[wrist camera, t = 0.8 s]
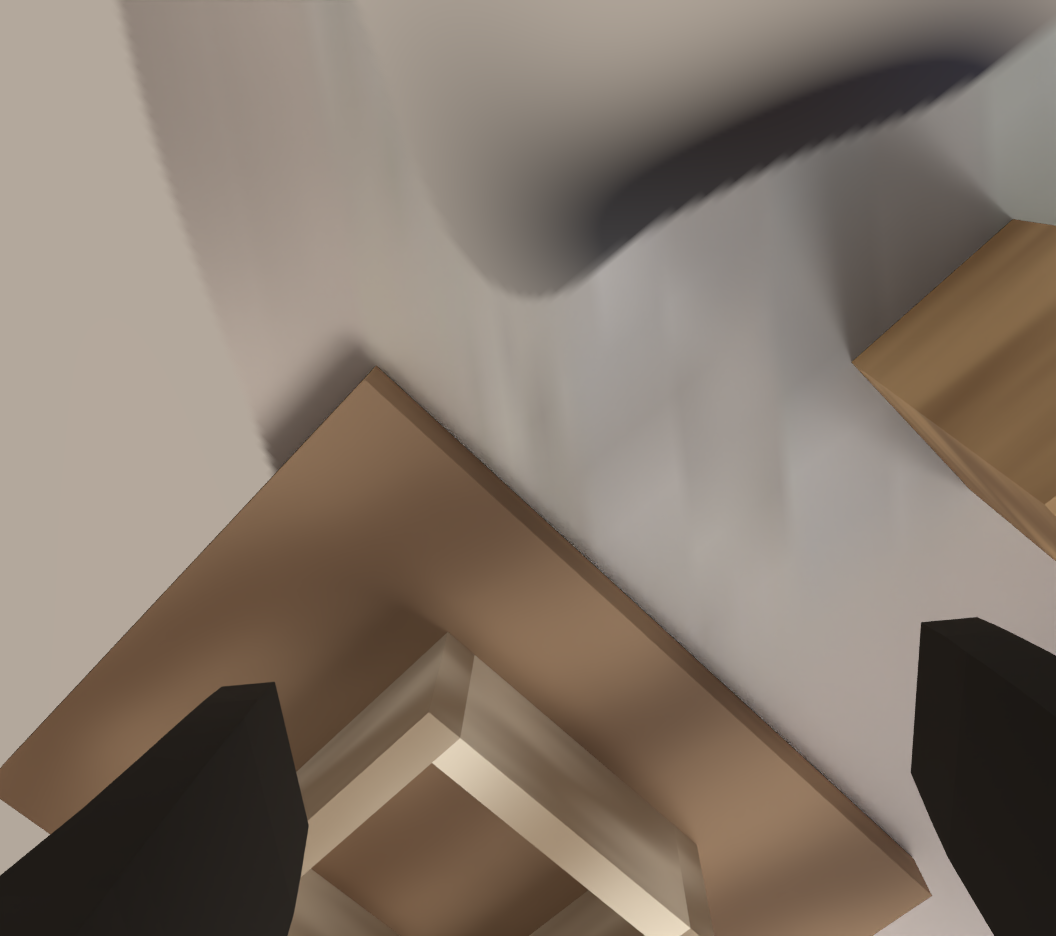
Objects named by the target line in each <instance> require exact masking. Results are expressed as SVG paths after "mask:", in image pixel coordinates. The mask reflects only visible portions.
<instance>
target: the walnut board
mask: <svg viewBox="0 0 1056 936" xmlns="http://www.w3.org/2000/svg"><path fill="white" fill-rule="evenodd" d="M266 682H275V684H276V688H277V693H278V697H279V701H280V705H281V710H282V714H283V718H284V722H285V727H286V731H287V735H288V739H289V744H290V748H291V752H292V756H293V761H294V765H295V769H296V773H297V778H298V782H299V786H300V790H301V795H302V799H303V803H304V807H305V812H306V816H307V820H308V824H309V828H308V835H307V841H306V847H305V853H304V860H303V866H302V872H301V878H300V883H299V889H298V894H297V900H296V905H295V911H294V915H293V919H292V922H291V926H290V929H289V933H288V936H873V935H874V934H876V933H877V932H879V931H880V930H882V929H883V928H885V927H886V926H888V925H889V924H890V923H892V922H893V921H895V920H896V919H898V918H899V917H901V916H902V915H904V914H905V913H907V912H908V911H910V910H911V909H913V908H914V907H916V906H917V905H919V904H920V903H922V902H923V901H925V900H926V899H928V898H929V897H931V896H932V895H931V893H930V891H929V889H928V887H927V885H926V883H925V881H924V879H923V877H922V875H921V873H920V871H919V869H918V867H917V865H916V863H915V861H914V859H913V858H912V857H911V856H910V855H909V854H908V853H907V852H906V851H905V850H904V849H902V848H901V847H900V846H899V845H898V844H897V843H896V842H895V841H894V840H893V839H892V838H890V837H889V836H888V835H887V834H886V833H885V832H884V831H883V830H882V829H881V828H880V827H878V826H877V825H876V824H875V823H874V822H873V821H872V820H871V819H870V818H869V817H868V816H866V815H865V814H864V813H863V812H862V811H861V810H860V809H859V808H858V807H857V806H856V805H854V804H853V803H852V802H851V801H850V800H849V799H848V798H847V797H846V796H845V795H844V794H842V793H841V792H840V791H839V790H838V789H837V788H836V787H835V786H834V785H833V784H832V783H831V782H829V781H828V780H827V779H826V778H825V777H824V776H823V775H822V774H821V773H820V772H819V771H817V770H816V769H815V768H814V767H813V766H812V765H811V764H810V763H809V762H808V761H807V760H805V759H804V758H803V757H802V756H801V755H800V754H799V753H798V752H797V751H796V750H795V749H793V748H792V747H791V746H790V745H789V744H788V743H787V742H786V741H785V740H784V739H783V738H781V737H780V736H779V735H778V734H777V733H776V732H775V731H774V730H773V729H772V728H771V727H769V726H768V725H767V724H766V723H765V722H764V721H763V720H762V719H761V718H760V717H759V716H757V715H756V714H755V713H754V712H753V711H752V710H751V709H750V708H749V707H748V706H747V705H745V704H744V703H743V702H742V701H741V700H740V699H739V698H738V697H737V696H736V695H735V694H733V693H732V692H731V691H730V690H729V689H728V688H727V687H726V686H725V685H724V684H723V683H721V682H720V681H719V680H718V679H717V678H716V677H715V676H714V675H713V674H712V673H711V672H709V671H708V670H707V669H706V668H705V667H704V666H703V665H702V664H701V663H700V662H699V661H698V660H696V659H695V658H694V657H693V656H692V655H691V654H690V653H689V652H688V651H687V650H686V649H684V648H683V647H682V646H681V645H680V644H679V643H678V642H677V641H676V640H675V639H674V638H672V637H671V636H670V635H669V634H668V633H667V632H666V631H665V630H664V629H663V628H662V627H660V626H659V625H658V624H657V623H656V622H655V621H654V620H653V619H652V618H651V617H650V616H648V615H647V614H646V613H645V612H644V611H643V610H642V609H641V608H640V607H639V606H638V605H636V604H635V603H634V602H633V601H632V600H631V599H630V598H629V597H628V596H627V595H626V594H624V593H623V592H622V591H621V590H620V589H619V588H618V587H617V586H616V585H615V584H614V583H612V582H611V581H610V580H609V579H608V578H607V577H606V576H605V575H604V574H603V573H602V572H600V571H599V570H598V569H597V568H596V567H595V566H594V565H593V564H592V563H591V562H590V561H588V560H587V559H586V558H585V557H584V556H583V555H582V554H581V553H580V552H579V551H578V550H577V549H575V548H574V547H573V546H572V545H571V544H570V543H569V542H568V541H567V540H566V539H565V538H563V537H562V536H561V535H560V534H559V533H558V532H557V531H556V530H555V529H554V528H553V527H551V526H550V525H549V524H548V523H547V522H546V521H545V520H544V519H543V518H542V517H541V516H539V515H538V514H537V513H536V512H535V511H534V510H533V509H532V508H531V507H530V506H529V505H527V504H526V503H525V502H524V501H523V500H522V499H521V498H520V497H519V496H518V495H517V494H515V493H514V492H513V491H512V490H511V489H510V488H509V487H508V486H507V485H506V484H505V483H503V482H502V481H501V480H500V479H499V478H498V477H497V476H496V475H495V474H494V473H493V472H491V471H490V470H489V469H488V468H487V467H486V466H485V465H484V464H483V463H482V462H481V461H479V460H478V459H477V458H476V457H475V456H474V455H473V454H472V453H471V452H470V451H469V450H467V449H466V448H465V447H464V446H463V445H462V444H461V443H460V442H459V441H458V440H457V439H455V438H454V437H453V436H452V435H451V434H450V433H449V432H448V431H447V430H446V429H445V428H444V427H442V426H441V425H440V424H439V423H438V422H437V421H436V420H435V419H434V418H433V417H432V416H430V415H429V414H428V413H427V412H426V411H425V410H424V409H423V408H422V407H421V406H420V405H418V404H417V403H416V402H415V401H414V400H413V399H412V398H411V397H410V396H409V395H408V394H406V393H405V392H404V391H403V390H402V389H401V388H400V387H399V386H398V385H397V384H396V383H394V382H393V381H392V380H391V379H390V378H389V377H388V376H387V375H386V374H385V373H384V372H382V371H381V370H380V369H379V368H378V367H377V366H375V367H374V368H373V370H372V371H371V372H370V373H369V374H368V375H367V376H366V377H365V378H364V379H363V380H362V381H361V382H360V383H359V385H358V386H357V387H356V388H355V389H354V390H353V391H352V392H351V393H350V394H349V395H348V396H347V397H346V398H345V400H344V401H343V402H342V403H341V404H340V405H339V406H338V407H337V408H336V409H335V410H334V411H333V412H332V413H331V414H330V416H329V417H328V418H327V419H326V420H325V421H324V422H323V423H322V424H321V425H320V426H319V427H318V428H317V429H316V431H315V432H314V433H313V434H312V435H311V436H310V437H309V438H308V439H307V440H306V441H305V442H304V443H303V444H302V445H301V447H300V448H299V449H298V450H297V451H296V452H295V453H294V454H293V455H292V456H291V457H290V458H289V459H288V460H287V462H286V463H285V464H284V465H283V466H282V467H281V468H280V469H279V470H278V471H277V472H276V473H275V474H274V475H273V476H272V478H271V479H270V480H269V481H268V482H267V483H266V484H265V485H264V486H263V487H262V488H261V489H260V490H259V492H258V493H257V494H256V495H255V496H254V497H253V498H252V499H251V500H250V501H249V502H248V503H247V504H246V505H245V506H244V507H243V509H242V510H241V511H240V512H239V513H238V514H237V515H236V516H235V517H234V518H233V519H232V520H231V521H230V523H229V524H228V525H227V526H226V527H225V528H224V529H223V530H222V531H221V532H220V533H219V534H218V535H217V536H216V537H215V539H214V540H213V541H212V542H211V543H210V544H209V545H208V546H207V547H206V548H205V549H204V550H203V552H202V553H201V554H200V555H199V556H198V557H197V558H196V559H195V560H194V561H193V562H192V563H191V564H190V565H189V566H188V568H186V570H185V571H184V572H183V573H182V574H181V575H180V576H179V577H178V578H177V579H176V580H175V581H174V582H173V583H172V584H171V586H170V587H169V588H168V589H167V590H166V591H165V592H164V593H163V594H162V595H161V596H160V597H159V598H158V599H157V601H156V602H155V603H154V604H153V605H152V606H151V607H150V608H149V609H148V610H147V611H146V612H145V613H144V614H143V616H142V617H141V618H140V619H139V620H138V621H137V622H136V623H135V624H134V625H133V626H132V627H131V628H130V630H128V632H127V633H126V634H125V635H124V636H123V637H122V638H121V639H120V640H119V641H118V642H117V643H116V644H115V646H114V647H113V648H112V649H111V650H110V651H109V652H108V653H107V654H106V655H105V656H104V657H103V658H102V659H101V660H100V661H99V663H98V664H97V665H96V666H95V667H94V668H93V669H92V670H91V671H90V672H89V673H88V675H86V677H85V678H84V679H83V680H82V681H81V682H80V683H79V684H78V685H77V686H76V687H75V688H74V689H73V691H71V692H70V694H69V695H68V696H67V697H66V698H65V699H64V700H63V701H62V702H61V703H60V704H59V705H58V706H57V707H56V709H55V710H54V711H53V712H52V713H51V714H50V715H49V716H48V717H47V718H46V719H45V720H44V721H43V722H42V723H41V725H40V726H39V727H38V728H37V729H36V730H35V731H34V732H33V733H32V734H31V735H30V736H29V738H27V740H26V741H25V742H24V743H23V744H22V745H21V746H20V747H19V748H18V749H17V750H16V751H15V752H14V754H12V756H11V757H10V758H9V759H8V760H7V761H6V762H5V763H4V764H3V766H2V767H1V768H0V799H1V800H2V801H4V802H5V803H7V804H8V805H10V806H11V807H12V808H14V809H15V810H17V811H18V812H19V813H21V814H22V815H24V816H25V817H27V818H28V819H29V820H31V821H32V822H34V823H35V824H36V825H38V826H39V827H41V828H42V829H44V830H45V831H46V832H48V833H49V834H52V833H53V832H54V831H55V830H57V829H58V828H59V827H60V826H61V825H63V824H64V823H65V822H66V821H68V820H69V819H70V818H71V817H72V816H74V815H75V814H76V813H77V812H79V811H80V810H81V809H82V808H83V807H84V806H86V805H87V804H88V803H89V802H90V801H91V800H92V799H94V798H95V797H96V796H97V795H98V794H99V793H100V792H102V791H103V790H104V789H105V788H106V787H107V786H108V785H109V784H111V783H112V782H113V781H114V780H115V779H116V778H117V777H118V776H120V775H121V774H122V773H123V772H124V771H125V770H126V769H128V768H129V767H130V766H131V765H132V764H133V763H134V762H135V761H137V760H138V759H139V758H140V757H141V756H142V755H143V754H144V753H146V752H147V751H148V750H149V749H150V748H151V747H152V746H153V745H154V744H156V743H157V742H158V741H159V740H160V739H161V738H162V737H163V736H164V735H166V734H167V733H168V732H169V731H170V730H171V729H172V728H173V727H174V726H176V725H177V724H178V723H179V722H180V721H181V720H182V719H183V718H185V717H186V716H187V715H188V714H189V713H190V712H191V711H192V710H194V709H195V708H196V707H197V706H198V705H199V704H201V703H202V702H203V701H204V700H205V699H206V698H208V697H209V696H210V695H211V694H213V693H214V692H215V691H217V690H218V689H219V688H220V687H223V686H233V685H244V684H255V683H266Z"/></svg>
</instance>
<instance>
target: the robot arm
mask: <svg viewBox="0 0 1056 936" xmlns="http://www.w3.org/2000/svg"><path fill="white" fill-rule="evenodd" d="M911 774H912V777H913V779H914V781H915V784H916V786H917V788H918V791H919V793H920V796H921V798H922V800H923V803H924V805H925V807H926V810H927V812H928V814H929V817H930V819H931V821H932V823H933V826H934V828H935V830H936V832H937V834H938V837H939V839H940V841H941V843H942V845H943V848H944V850H945V852H946V854H947V856H948V858H949V860H950V862H951V863H952V865H953V867H954V869H955V870H956V872H957V874H958V875H959V877H960V879H961V881H962V882H963V884H964V886H965V887H966V889H967V891H968V892H969V894H970V896H971V897H972V899H973V901H974V902H975V904H976V906H977V908H978V909H979V911H980V913H981V914H982V916H983V918H984V919H985V921H986V923H987V924H988V926H989V928H990V929H991V931H992V933H993V934H994V936H1056V656H1055V655H1053V654H1051V653H1050V652H1048V651H1046V650H1044V649H1042V648H1040V647H1038V646H1036V645H1034V644H1032V643H1030V642H1028V641H1026V640H1024V639H1023V638H1021V637H1019V636H1017V635H1015V634H1013V633H1011V632H1009V631H1007V630H1004V629H1002V628H1000V627H998V626H996V625H994V624H992V623H989V622H987V621H985V620H982V619H980V618H978V617H975V618H964V619H953V620H942V621H931V622H921V633H920V647H919V662H918V676H917V691H916V706H915V720H914V735H913V749H912V764H911ZM308 828H309V824H308V820H307V816H306V812H305V807H304V803H303V799H302V795H301V790H300V786H299V782H298V778H297V773H296V769H295V765H294V761H293V756H292V752H291V748H290V744H289V739H288V735H287V731H286V727H285V722H284V718H283V714H282V710H281V705H280V701H279V697H278V693H277V688H276V684H275V682H266V683H255V684H244V685H233V686H223V687H220V688H219V689H218V690H217V691H215V692H214V693H213V694H211V695H210V696H209V697H208V698H206V699H205V700H204V701H203V702H202V703H201V704H199V705H198V706H197V707H196V708H195V709H194V710H192V711H191V712H190V713H189V714H188V715H187V716H186V717H185V718H183V719H182V720H181V721H180V722H179V723H178V724H177V725H176V726H174V727H173V728H172V729H171V730H170V731H169V732H168V733H167V734H166V735H164V736H163V737H162V738H161V739H160V740H159V741H158V742H157V743H156V744H154V745H153V746H152V747H151V748H150V749H149V750H148V751H147V752H146V753H144V754H143V755H142V756H141V757H140V758H139V759H138V760H137V761H135V762H134V763H133V764H132V765H131V766H130V767H129V768H128V769H126V770H125V771H124V772H123V773H122V774H121V775H120V776H118V777H117V778H116V779H115V780H114V781H113V782H112V783H111V784H109V785H108V786H107V787H106V788H105V789H104V790H103V791H102V792H100V793H99V794H98V795H97V796H96V797H95V798H94V799H92V800H91V801H90V802H89V803H88V804H87V805H86V806H84V807H83V808H82V809H81V810H80V811H79V812H77V813H76V814H75V815H74V816H72V817H71V818H70V819H69V820H68V821H66V822H65V823H64V824H63V825H61V826H60V827H59V828H58V829H57V830H55V831H54V832H53V833H52V834H50V835H49V836H48V837H47V838H46V839H44V840H43V841H42V842H41V843H40V844H38V845H37V846H36V847H35V848H33V849H32V850H31V851H30V852H29V853H27V854H26V855H25V856H24V857H22V858H21V859H20V860H19V861H18V862H16V863H15V864H14V865H13V866H12V867H10V868H9V869H8V870H7V871H5V872H4V873H3V874H2V875H1V876H0V936H288V933H289V929H290V926H291V922H292V919H293V915H294V911H295V905H296V900H297V894H298V889H299V883H300V878H301V872H302V866H303V860H304V853H305V847H306V841H307V835H308Z"/></svg>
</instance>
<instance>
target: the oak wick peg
mask: <svg viewBox="0 0 1056 936" xmlns="http://www.w3.org/2000/svg"><path fill="white" fill-rule="evenodd" d="M852 363H853V364H854V366H855V367H856V368H857V369H858V370H859V371H860V372H861V373H862V374H863V375H864V376H865V377H866V378H867V380H868V381H869V382H870V383H871V384H872V385H873V386H874V387H875V388H876V389H877V390H878V391H879V392H880V393H881V395H882V396H883V397H884V398H885V399H886V400H887V401H888V402H889V403H890V404H891V405H892V406H893V407H894V408H895V410H896V411H897V412H898V413H899V414H900V415H901V416H902V417H903V418H904V419H905V420H906V421H907V422H908V423H909V425H910V426H911V427H912V428H913V429H914V430H915V431H916V432H917V433H918V434H919V435H920V436H921V437H922V438H923V440H924V441H925V442H926V443H927V444H928V445H929V446H930V447H931V448H932V449H933V450H934V451H935V452H936V454H937V455H938V456H939V457H940V458H941V459H942V460H943V461H944V462H945V463H946V464H947V465H948V466H949V467H950V469H951V470H952V471H953V472H954V473H955V474H956V475H957V476H958V477H959V478H960V479H961V480H962V481H963V482H964V484H965V485H966V486H967V487H968V488H969V489H970V490H971V491H972V492H974V493H975V494H976V495H977V496H978V497H980V498H981V499H982V500H983V501H984V502H985V503H987V504H988V505H989V506H990V507H991V508H993V509H994V510H995V511H996V512H997V513H999V514H1000V515H1001V516H1002V517H1003V518H1005V519H1006V520H1007V521H1008V522H1009V523H1011V524H1012V525H1013V526H1014V527H1015V528H1017V529H1018V530H1019V531H1020V532H1021V533H1023V534H1024V535H1025V536H1026V537H1027V538H1029V539H1030V540H1031V541H1032V542H1033V543H1035V544H1036V545H1037V546H1038V547H1039V548H1041V549H1042V550H1043V551H1044V552H1045V553H1047V554H1048V555H1049V556H1050V557H1051V558H1053V559H1054V560H1055V561H1056V226H1053V225H1047V224H1041V223H1034V222H1028V221H1021V220H1015V219H1013V220H1011V221H1010V222H1009V223H1008V224H1007V225H1006V226H1005V227H1004V228H1002V229H1001V230H1000V231H999V232H998V233H997V234H996V235H994V236H993V237H992V238H991V239H990V240H989V241H988V242H987V243H985V244H984V245H983V246H982V247H981V248H980V249H979V250H978V251H976V252H975V253H974V254H973V255H972V256H971V257H970V258H969V259H967V260H966V261H965V262H964V263H963V264H962V265H961V266H959V267H958V268H957V269H956V270H955V271H954V272H953V273H952V274H950V275H949V276H948V277H947V278H946V279H945V280H944V281H943V282H941V283H940V284H939V285H938V286H937V287H936V288H935V289H934V290H932V291H931V292H930V293H929V294H928V295H927V296H926V297H924V298H923V299H922V300H921V301H920V302H919V303H918V304H917V305H915V306H914V307H913V308H912V309H911V310H910V311H909V312H908V313H906V314H905V315H904V316H903V317H902V318H901V319H900V320H898V321H897V322H896V323H895V324H894V325H893V326H892V327H891V328H889V329H888V330H887V331H886V332H885V333H884V334H883V335H882V336H880V337H879V338H878V339H877V340H876V341H875V342H874V343H873V344H871V345H870V346H869V347H868V348H867V349H866V350H865V351H863V352H862V353H861V354H860V355H859V356H858V357H857V358H856V359H854V360H853V361H852Z"/></svg>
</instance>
